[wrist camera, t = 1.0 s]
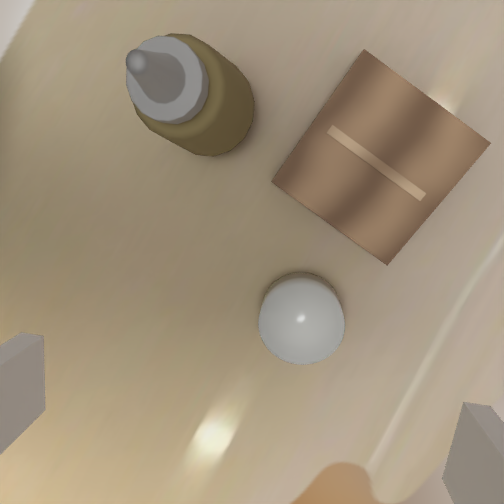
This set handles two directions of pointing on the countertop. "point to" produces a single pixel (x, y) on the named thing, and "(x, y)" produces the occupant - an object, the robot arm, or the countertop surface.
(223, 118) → the squeeze bottle
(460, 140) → the plate
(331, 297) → the white dome cap
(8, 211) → the countertop surface
